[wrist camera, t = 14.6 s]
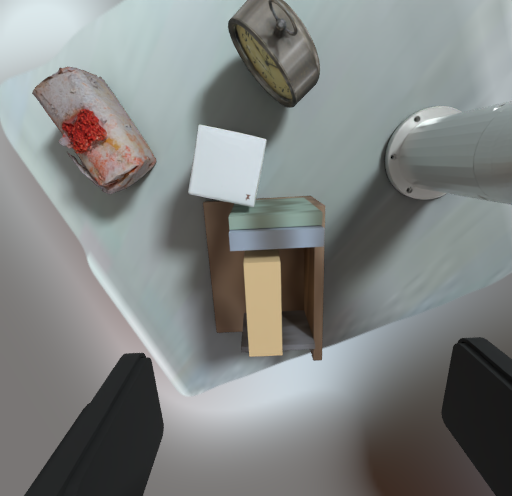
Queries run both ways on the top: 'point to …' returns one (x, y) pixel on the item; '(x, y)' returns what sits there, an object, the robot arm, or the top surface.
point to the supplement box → (227, 165)
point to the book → (263, 302)
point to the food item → (95, 128)
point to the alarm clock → (276, 49)
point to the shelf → (291, 257)
